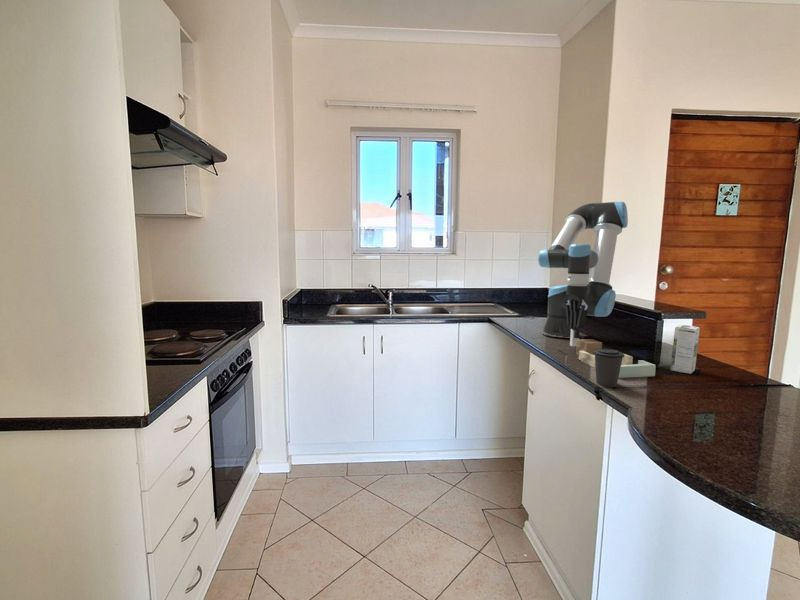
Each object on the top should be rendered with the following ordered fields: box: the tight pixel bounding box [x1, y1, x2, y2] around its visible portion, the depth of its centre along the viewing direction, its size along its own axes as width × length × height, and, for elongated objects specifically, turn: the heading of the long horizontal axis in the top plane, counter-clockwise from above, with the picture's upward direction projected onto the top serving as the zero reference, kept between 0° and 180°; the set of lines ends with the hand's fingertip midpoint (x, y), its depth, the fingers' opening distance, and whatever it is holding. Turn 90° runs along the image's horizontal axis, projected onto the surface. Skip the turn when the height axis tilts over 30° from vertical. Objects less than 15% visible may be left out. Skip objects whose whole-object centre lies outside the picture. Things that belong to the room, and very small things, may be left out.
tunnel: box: [578, 349, 634, 369], centre depth 136 cm, size 10×13×4 cm
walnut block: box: [575, 338, 603, 355], centre depth 145 cm, size 6×6×6 cm
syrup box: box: [670, 324, 701, 375], centre depth 127 cm, size 6×6×14 cm
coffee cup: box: [593, 348, 625, 388], centre depth 115 cm, size 8×8×10 cm
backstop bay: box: [618, 359, 657, 379], centre depth 124 cm, size 6×13×4 cm, turn 99°
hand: (574, 345), depth 153 cm, fingers closed
